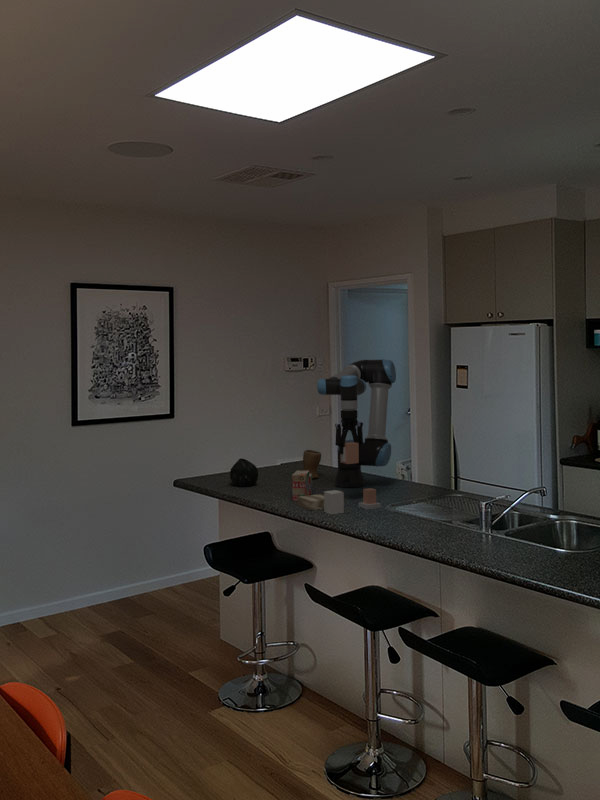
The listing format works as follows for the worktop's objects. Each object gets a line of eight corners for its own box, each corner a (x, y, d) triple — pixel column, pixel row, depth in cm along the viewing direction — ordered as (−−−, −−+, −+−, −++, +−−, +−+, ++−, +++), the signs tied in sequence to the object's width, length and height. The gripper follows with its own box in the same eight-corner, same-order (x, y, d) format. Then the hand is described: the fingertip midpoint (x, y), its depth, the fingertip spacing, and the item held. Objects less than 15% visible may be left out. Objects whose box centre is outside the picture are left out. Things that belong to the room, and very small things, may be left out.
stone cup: (324, 479, 404) (324, 451, 403) (303, 480, 400) (303, 452, 399) (315, 474, 418) (314, 447, 417) (294, 476, 415) (294, 448, 414)
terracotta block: (351, 461, 347) (351, 441, 346) (358, 462, 341) (358, 443, 341) (340, 462, 344) (340, 442, 343) (347, 464, 338) (347, 444, 338)
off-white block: (336, 511, 324) (335, 490, 323) (343, 513, 318) (343, 492, 318) (324, 512, 321) (323, 491, 320) (331, 515, 316) (331, 493, 315)
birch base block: (320, 502, 341) (320, 494, 341) (334, 507, 330) (334, 498, 330) (297, 505, 335) (297, 496, 335) (310, 510, 324) (310, 501, 324)
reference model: (371, 505, 334) (371, 487, 334) (381, 508, 328) (380, 489, 328) (358, 507, 331) (358, 488, 331) (367, 509, 325) (367, 491, 324)
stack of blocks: (300, 492, 367) (299, 467, 367) (312, 492, 366) (312, 467, 366) (292, 501, 346) (291, 474, 346) (305, 501, 345) (305, 474, 344)
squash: (259, 471, 397) (240, 451, 393) (267, 477, 383) (247, 456, 379) (239, 490, 395) (220, 470, 390) (246, 496, 381) (227, 476, 376)
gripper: (361, 408, 349) (362, 457, 350) (326, 410, 340) (327, 461, 341) (371, 409, 342) (371, 459, 344) (335, 411, 333) (336, 463, 335)
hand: (349, 460), depth 342 cm, fingers closed on terracotta block, 6 cm apart
